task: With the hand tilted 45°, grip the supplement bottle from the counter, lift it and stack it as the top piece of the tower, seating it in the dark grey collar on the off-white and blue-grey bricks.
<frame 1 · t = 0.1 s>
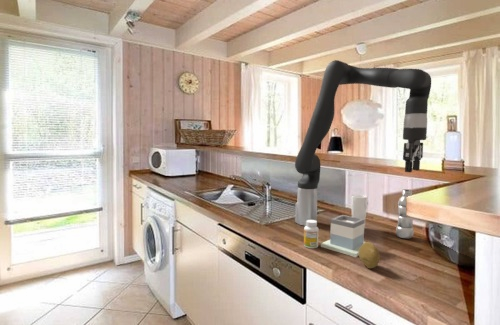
hand: (412, 171, 113), 29 cm above the countertop, tool pointing down, fingers open, 8 cm apart
potato: (368, 267, 99), on the countertop
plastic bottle: (404, 238, 128), on the countertop
supplement bottle: (310, 246, 117), on the countertop
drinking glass: (358, 229, 139), on the countertop
brick tower: (346, 246, 117), on the countertop
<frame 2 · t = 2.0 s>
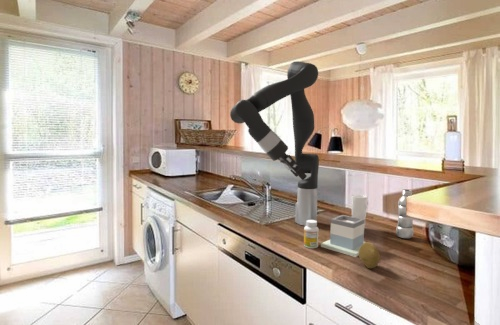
hand: (301, 176, 115), 27 cm above the countertop, tool tilted 45°, fingers open, 8 cm apart
nothing on the countertop moved.
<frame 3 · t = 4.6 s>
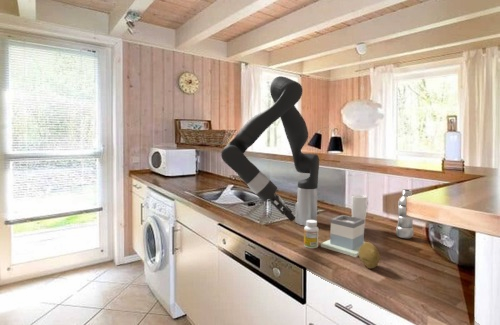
hand: (291, 216, 116), 11 cm above the countertop, tool tilted 45°, fingers open, 8 cm apart
nothing on the countertop moved.
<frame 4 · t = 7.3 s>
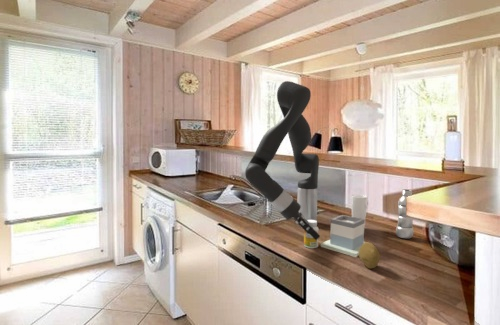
hand: (315, 235, 117), 4 cm above the countertop, tool tilted 45°, fingers closed on supplement bottle, 5 cm apart
supplement bottle: (310, 246, 117), on the countertop, touching gripper
everything else where it was.
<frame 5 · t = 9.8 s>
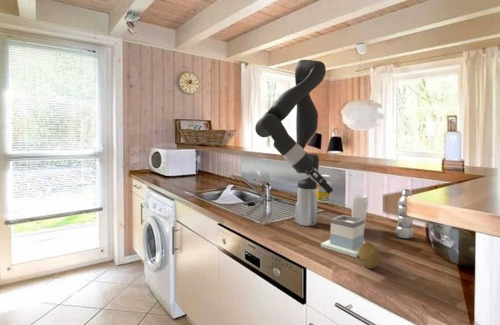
hand: (328, 190, 115), 22 cm above the countertop, tool tilted 45°, fingers closed on supplement bottle, 5 cm apart
supplement bottle: (323, 201, 115), point 17 cm above the countertop, touching gripper
everything else where it was.
when the fingers open (15 cm above the countertop, at t = 12.6 s): supplement bottle drops 1 cm, resting on brick tower.
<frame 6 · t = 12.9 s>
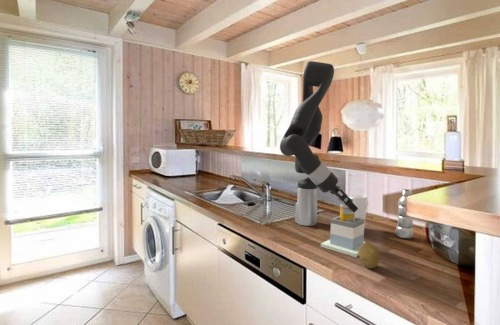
hand: (351, 207, 115), 15 cm above the countertop, tool tilted 45°, fingers open, 8 cm apart
supplement bottle: (347, 223, 116), point 9 cm above the countertop, touching brick tower
everything else where it was.
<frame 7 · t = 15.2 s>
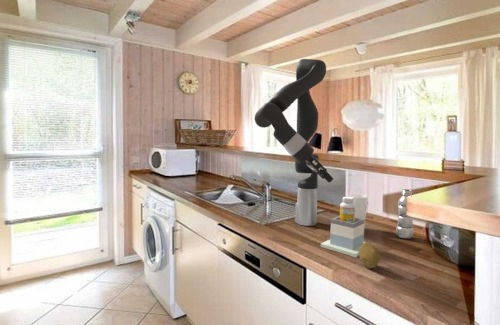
hand: (328, 178, 114), 26 cm above the countertop, tool tilted 45°, fingers open, 8 cm apart
nothing on the countertop moved.
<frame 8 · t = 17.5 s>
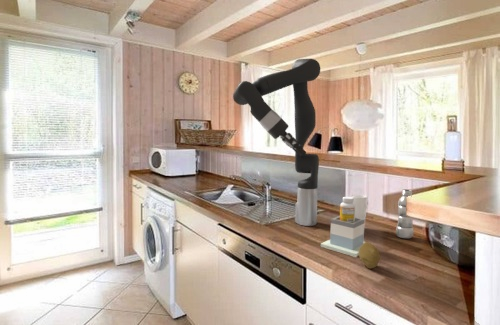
hand: (302, 153, 121), 35 cm above the countertop, tool tilted 45°, fingers open, 8 cm apart
nothing on the countertop moved.
at the end: supplement bottle 0.1 cm off-centre on the brick tower, point 9.0 cm above the brick tower's base; supplement bottle tilted 0°; the gripper is holding nothing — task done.
